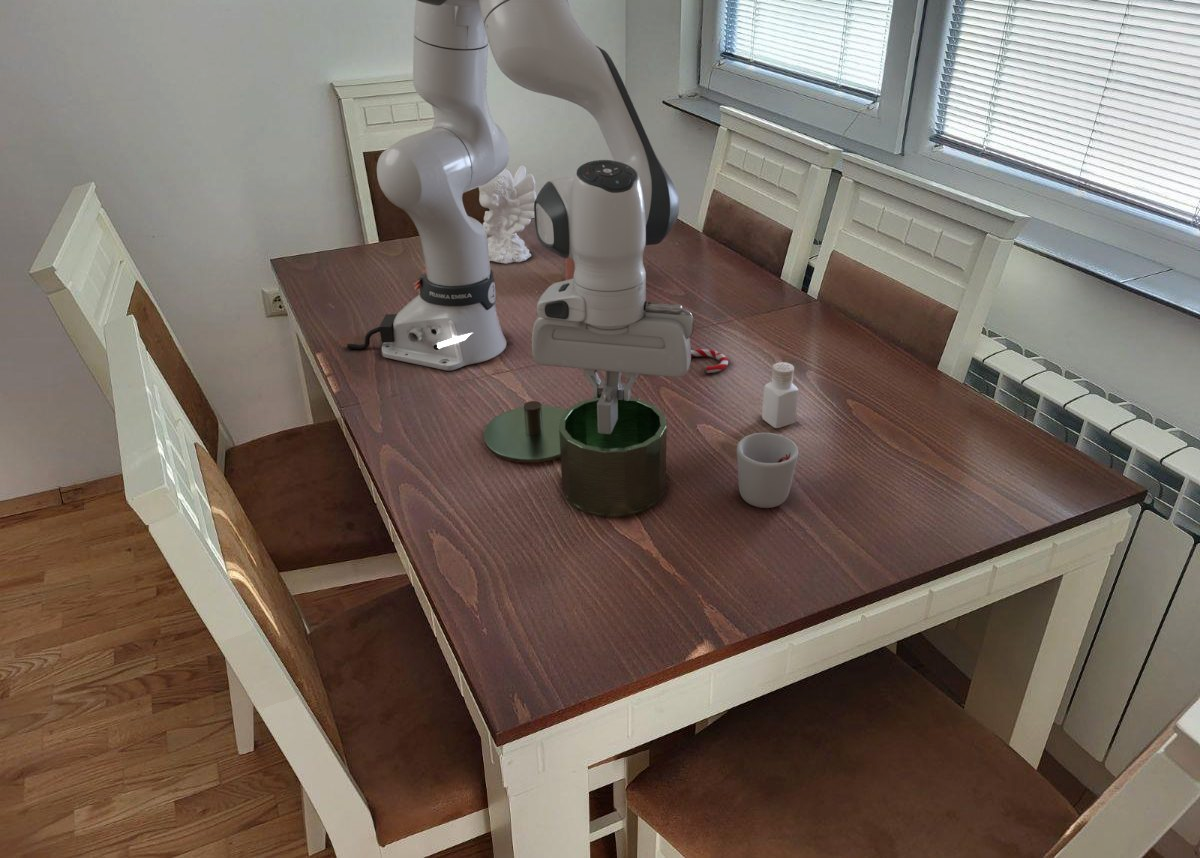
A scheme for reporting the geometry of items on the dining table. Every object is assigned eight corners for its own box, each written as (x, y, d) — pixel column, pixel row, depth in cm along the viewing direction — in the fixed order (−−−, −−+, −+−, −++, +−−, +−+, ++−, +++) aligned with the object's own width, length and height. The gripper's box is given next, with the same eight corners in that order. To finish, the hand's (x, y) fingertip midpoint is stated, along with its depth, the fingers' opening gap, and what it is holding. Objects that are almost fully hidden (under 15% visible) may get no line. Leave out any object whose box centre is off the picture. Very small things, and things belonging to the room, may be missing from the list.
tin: (562, 519, 117) (558, 453, 112) (563, 459, 130) (560, 397, 124) (669, 515, 118) (670, 449, 112) (660, 456, 130) (661, 394, 124)
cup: (724, 471, 126) (726, 423, 122) (779, 467, 127) (783, 419, 122) (740, 517, 117) (744, 466, 113) (800, 512, 117) (805, 462, 113)
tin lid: (480, 468, 128) (476, 434, 125) (488, 413, 141) (484, 382, 138) (586, 463, 129) (585, 430, 126) (584, 410, 142) (583, 378, 139)
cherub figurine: (478, 246, 206) (469, 160, 196) (530, 241, 209) (524, 155, 198) (485, 266, 196) (476, 176, 185) (541, 260, 198) (535, 170, 187)
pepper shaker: (775, 430, 135) (780, 375, 130) (759, 418, 138) (764, 364, 133) (796, 423, 136) (802, 369, 131) (780, 412, 139) (785, 358, 134)
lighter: (610, 434, 114) (609, 379, 109) (597, 432, 114) (595, 378, 110) (623, 406, 119) (622, 353, 115) (610, 405, 120) (609, 352, 116)
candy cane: (636, 356, 154) (717, 344, 157) (636, 363, 155) (717, 351, 158) (649, 376, 148) (734, 364, 151) (649, 383, 148) (733, 371, 151)
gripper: (697, 295, 109) (694, 393, 116) (539, 284, 114) (545, 378, 121) (690, 316, 104) (686, 417, 111) (524, 303, 108) (531, 401, 116)
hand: (612, 397), depth 116 cm, fingers closed on lighter, 2 cm apart
